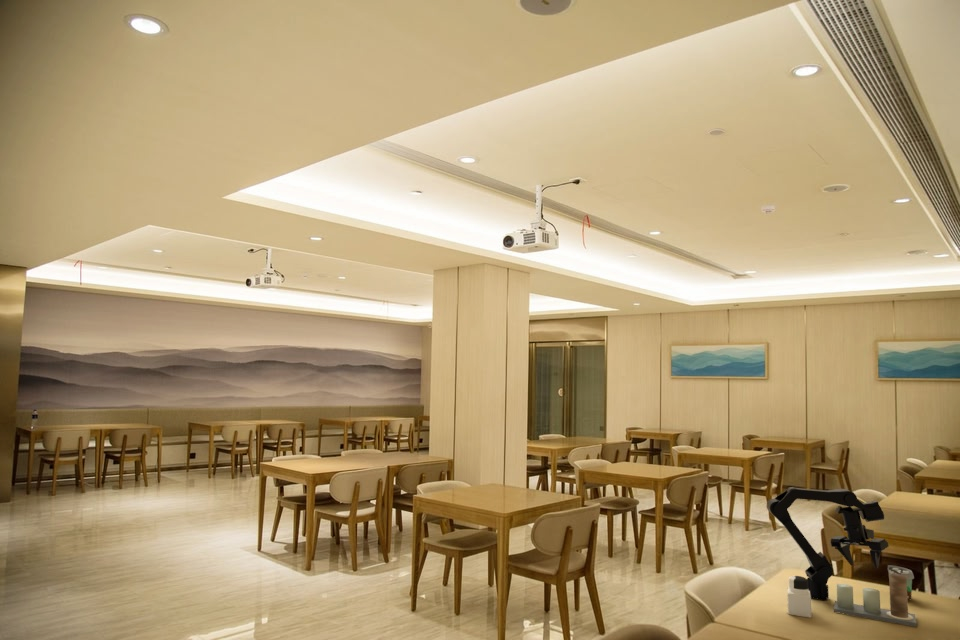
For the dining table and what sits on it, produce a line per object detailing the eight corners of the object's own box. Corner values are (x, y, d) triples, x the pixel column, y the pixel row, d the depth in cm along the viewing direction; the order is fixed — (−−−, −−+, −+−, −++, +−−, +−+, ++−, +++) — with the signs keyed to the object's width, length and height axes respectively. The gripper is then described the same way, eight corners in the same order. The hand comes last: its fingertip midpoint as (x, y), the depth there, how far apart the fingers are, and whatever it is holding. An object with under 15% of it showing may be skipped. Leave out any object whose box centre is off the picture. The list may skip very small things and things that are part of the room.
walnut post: (888, 614, 216) (886, 574, 217) (894, 611, 219) (892, 572, 220) (904, 618, 212) (902, 578, 213) (910, 616, 215) (909, 576, 216)
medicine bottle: (810, 611, 221) (809, 576, 222) (811, 618, 215) (810, 581, 216) (787, 608, 224) (786, 573, 225) (788, 614, 218) (787, 578, 219)
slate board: (833, 612, 221) (833, 607, 221) (834, 604, 230) (834, 600, 230) (916, 626, 209) (916, 622, 209) (915, 617, 217) (914, 613, 217)
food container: (921, 603, 233) (920, 575, 234) (902, 601, 234) (901, 573, 235) (906, 592, 245) (904, 566, 246) (888, 591, 246) (887, 564, 247)
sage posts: (837, 607, 223) (836, 586, 224) (837, 603, 227) (836, 582, 228) (880, 614, 216) (879, 593, 217) (880, 610, 220) (879, 589, 221)
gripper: (890, 519, 233) (901, 563, 231) (840, 517, 249) (851, 558, 247) (874, 527, 227) (886, 571, 225) (824, 524, 243) (835, 566, 241)
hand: (864, 566), depth 235 cm, fingers open, 9 cm apart
